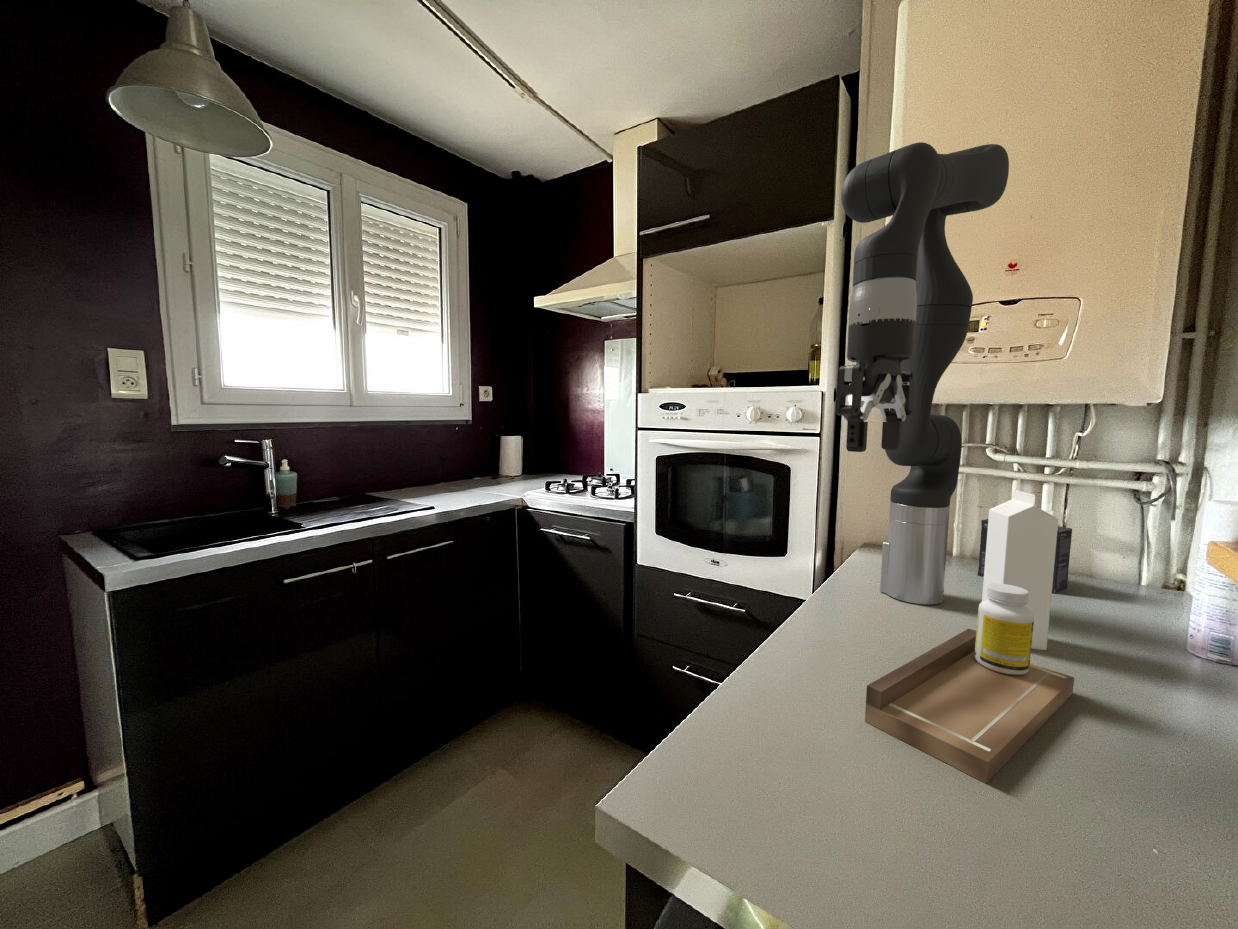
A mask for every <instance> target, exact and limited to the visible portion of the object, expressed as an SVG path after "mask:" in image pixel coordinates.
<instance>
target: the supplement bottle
mask: <svg viewBox="0 0 1238 929" xmlns="http://www.w3.org/2000/svg"><path fill="white" fill-rule="evenodd" d="M1028 596H1029V592H1028V591H1027V590H1025V589H1023V588H1020V587H1017V586H1013V585H1007V584H999V583H992V584H988V586H987V597H988V598H989V599H988V600H985V601H982V600H981V602H980V603H979V604H978V611H977V623H976V630H975V631H976V642H975V659H976V661H977V662H978V663H980V664H981V665H983V666H984V667H986V668H988V669H991V670H993V671H996V672H1000V673H1004V674H1011V675H1023V674H1026V673H1028V671H1029V667H1030V663H1031V655H1032V649H1031V646H1032V635H1033V625H1034V615H1033V613H1032V612H1031V611H1030V610H1029V609H1028V608H1026V607H1025V605H1026V604H1027V603H1028Z"/></svg>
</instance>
